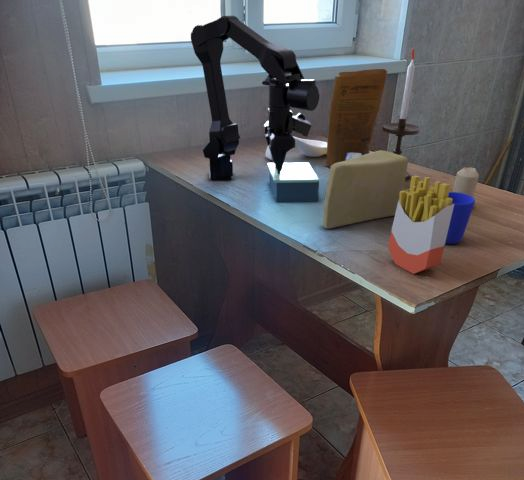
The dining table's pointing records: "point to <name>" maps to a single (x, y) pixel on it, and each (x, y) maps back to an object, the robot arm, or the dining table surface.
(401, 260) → the french fries container
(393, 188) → the cheese
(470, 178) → the candle
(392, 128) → the candlestick
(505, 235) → the dining table surface
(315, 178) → the lunchbox lid
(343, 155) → the pancake mix bag
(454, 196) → the mug
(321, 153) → the spoon rest
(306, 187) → the lunchbox
